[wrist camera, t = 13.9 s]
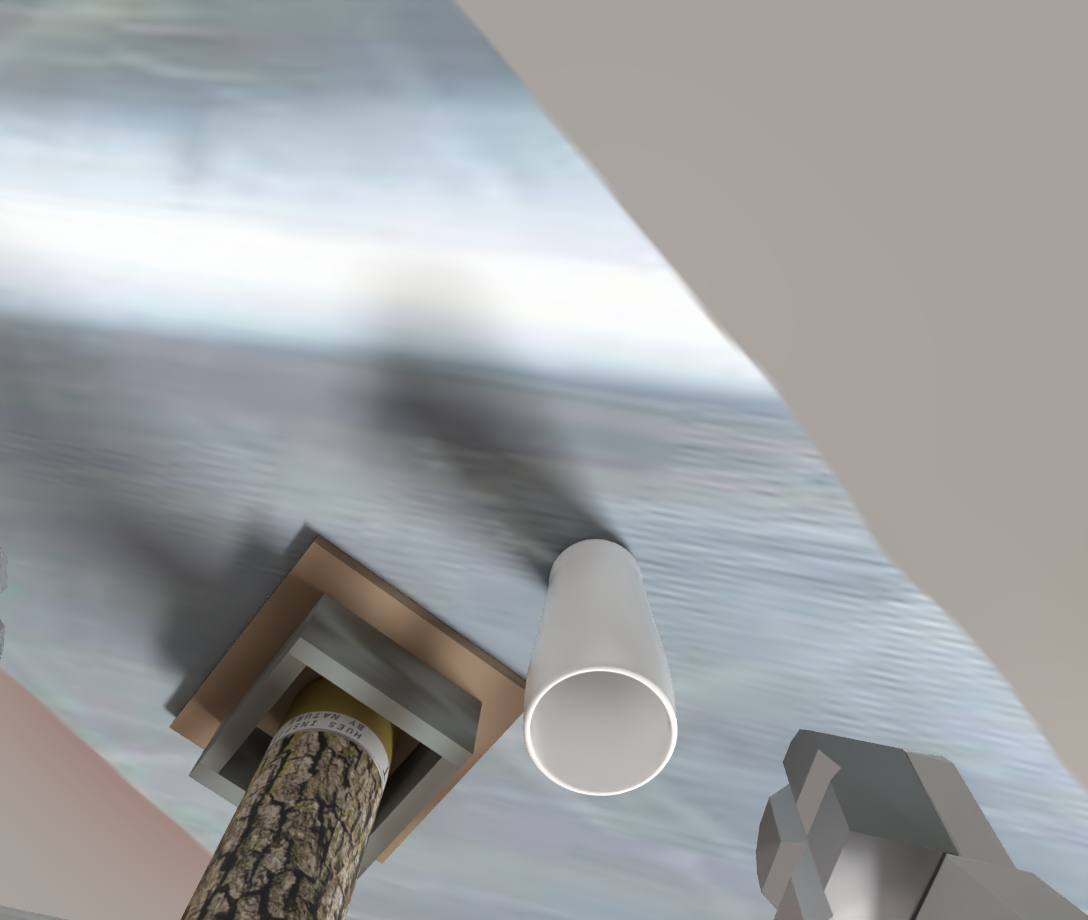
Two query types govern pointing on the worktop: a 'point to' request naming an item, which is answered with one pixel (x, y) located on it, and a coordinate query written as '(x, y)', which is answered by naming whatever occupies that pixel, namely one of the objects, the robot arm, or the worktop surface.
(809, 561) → the worktop surface
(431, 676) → the grey square open box
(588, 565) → the drinking glass
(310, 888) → the paper tube
